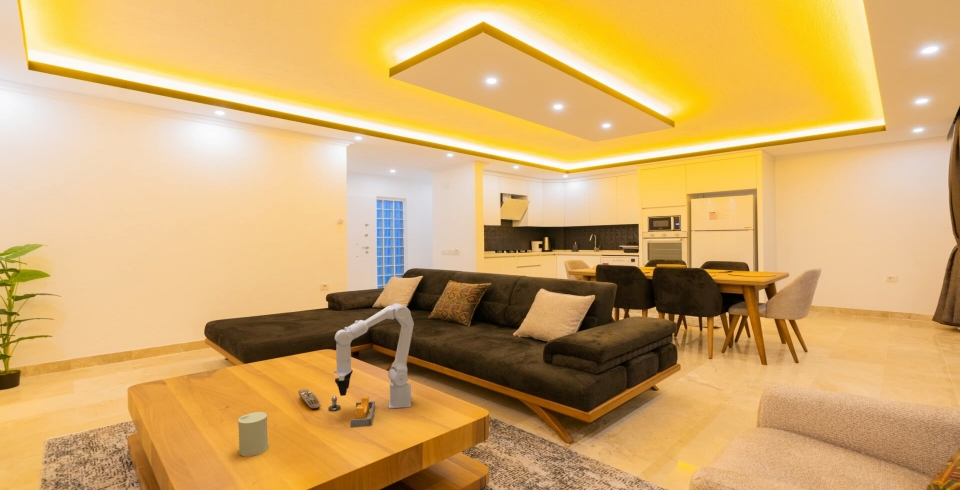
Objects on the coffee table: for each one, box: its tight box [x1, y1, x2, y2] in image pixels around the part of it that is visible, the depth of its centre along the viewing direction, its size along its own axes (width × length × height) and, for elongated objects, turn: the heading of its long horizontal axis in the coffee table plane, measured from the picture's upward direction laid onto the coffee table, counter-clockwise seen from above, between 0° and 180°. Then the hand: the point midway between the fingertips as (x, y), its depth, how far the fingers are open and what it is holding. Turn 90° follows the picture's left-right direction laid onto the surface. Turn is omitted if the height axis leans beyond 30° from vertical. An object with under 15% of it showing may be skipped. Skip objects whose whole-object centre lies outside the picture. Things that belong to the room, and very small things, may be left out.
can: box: [237, 411, 269, 457], centre depth 153 cm, size 9×9×12 cm
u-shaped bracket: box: [349, 401, 376, 428], centre depth 179 cm, size 8×18×3 cm, turn 9°
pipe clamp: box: [354, 396, 370, 419], centre depth 178 cm, size 12×4×6 cm, turn 3°
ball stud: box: [327, 395, 341, 412], centre depth 187 cm, size 5×5×6 cm
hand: (344, 391), depth 180 cm, fingers open, 7 cm apart
